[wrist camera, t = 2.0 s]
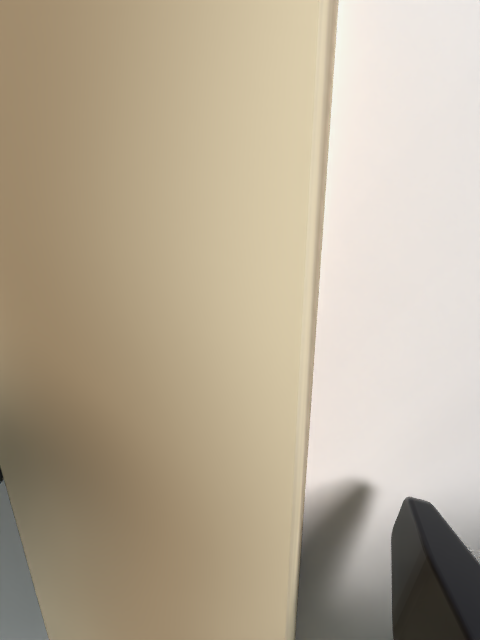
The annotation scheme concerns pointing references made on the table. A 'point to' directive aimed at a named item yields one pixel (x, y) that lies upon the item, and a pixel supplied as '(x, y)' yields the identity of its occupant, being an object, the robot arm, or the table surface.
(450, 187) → the table surface
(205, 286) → the beam
